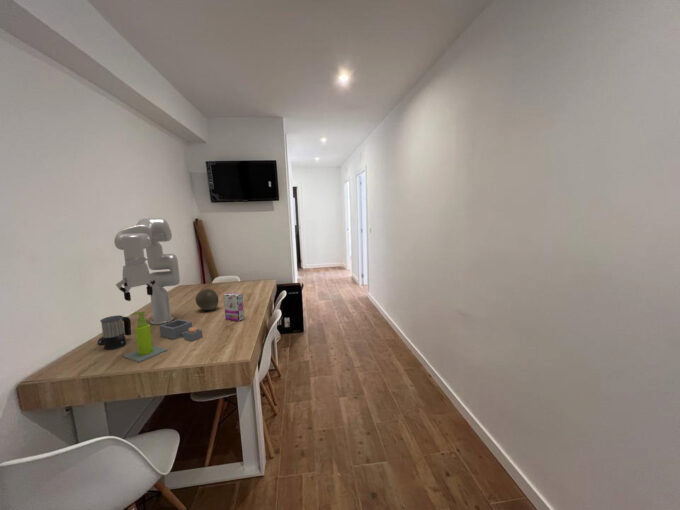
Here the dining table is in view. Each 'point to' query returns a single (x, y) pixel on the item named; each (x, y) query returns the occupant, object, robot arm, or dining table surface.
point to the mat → (139, 358)
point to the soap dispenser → (143, 335)
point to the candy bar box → (234, 306)
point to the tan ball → (192, 329)
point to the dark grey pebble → (207, 299)
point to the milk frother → (114, 331)
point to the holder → (179, 330)
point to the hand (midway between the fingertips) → (139, 297)
